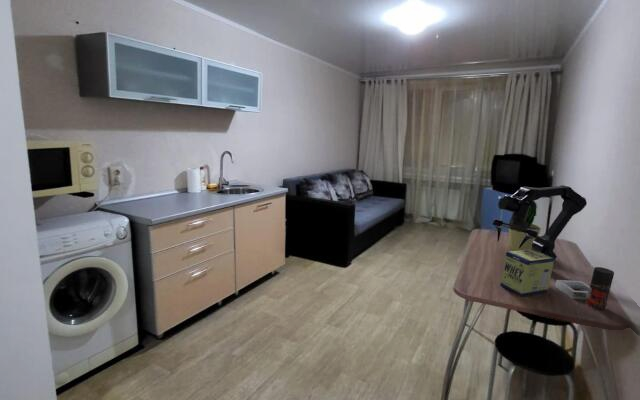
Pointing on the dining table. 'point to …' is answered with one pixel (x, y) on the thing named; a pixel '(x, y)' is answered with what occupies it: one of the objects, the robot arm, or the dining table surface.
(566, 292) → the collar
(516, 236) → the potted cactus
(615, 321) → the dining table surface
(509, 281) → the protein box
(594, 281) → the deodorant
